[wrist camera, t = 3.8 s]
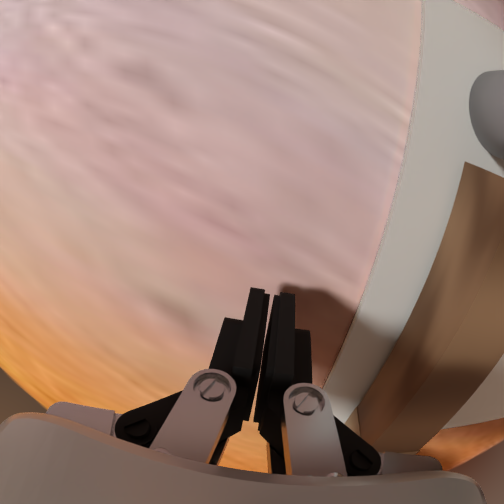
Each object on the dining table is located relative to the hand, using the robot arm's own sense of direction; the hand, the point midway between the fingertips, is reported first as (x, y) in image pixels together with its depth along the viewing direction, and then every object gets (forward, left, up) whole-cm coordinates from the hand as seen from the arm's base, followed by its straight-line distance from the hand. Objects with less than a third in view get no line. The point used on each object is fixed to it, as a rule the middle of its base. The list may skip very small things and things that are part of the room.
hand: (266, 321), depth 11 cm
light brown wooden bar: (0, +8, -1) cm, 8 cm away
